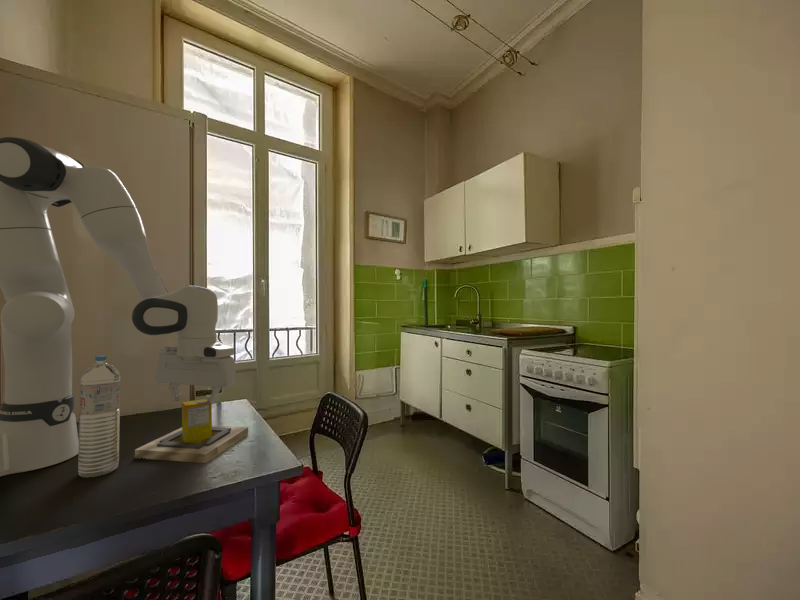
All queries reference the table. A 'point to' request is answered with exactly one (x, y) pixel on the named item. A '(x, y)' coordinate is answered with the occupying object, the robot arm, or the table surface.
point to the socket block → (191, 445)
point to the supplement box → (196, 421)
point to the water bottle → (99, 420)
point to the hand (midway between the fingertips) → (194, 402)
